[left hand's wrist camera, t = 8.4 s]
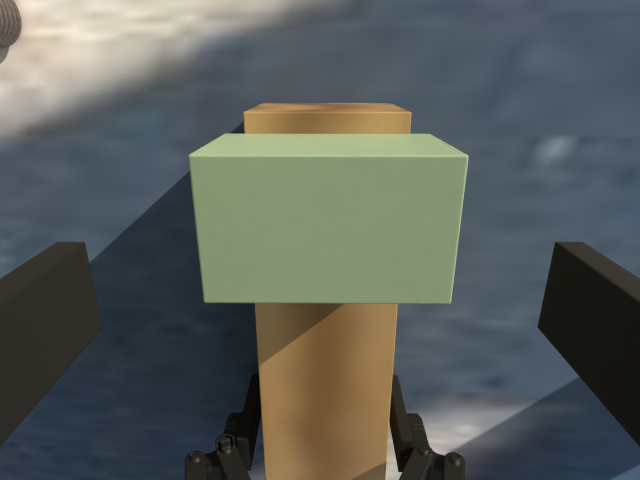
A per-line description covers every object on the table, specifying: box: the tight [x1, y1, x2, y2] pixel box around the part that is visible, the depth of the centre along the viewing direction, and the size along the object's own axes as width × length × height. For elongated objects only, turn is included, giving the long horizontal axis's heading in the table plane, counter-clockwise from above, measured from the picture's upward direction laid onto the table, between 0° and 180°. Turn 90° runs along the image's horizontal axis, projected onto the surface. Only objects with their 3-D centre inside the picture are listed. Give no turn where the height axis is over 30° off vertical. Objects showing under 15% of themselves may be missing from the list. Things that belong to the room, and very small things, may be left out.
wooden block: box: [243, 103, 411, 480], centre depth 29 cm, size 8×26×7 cm, turn 0°
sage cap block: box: [188, 134, 468, 304], centre depth 19 cm, size 10×6×6 cm, turn 90°
